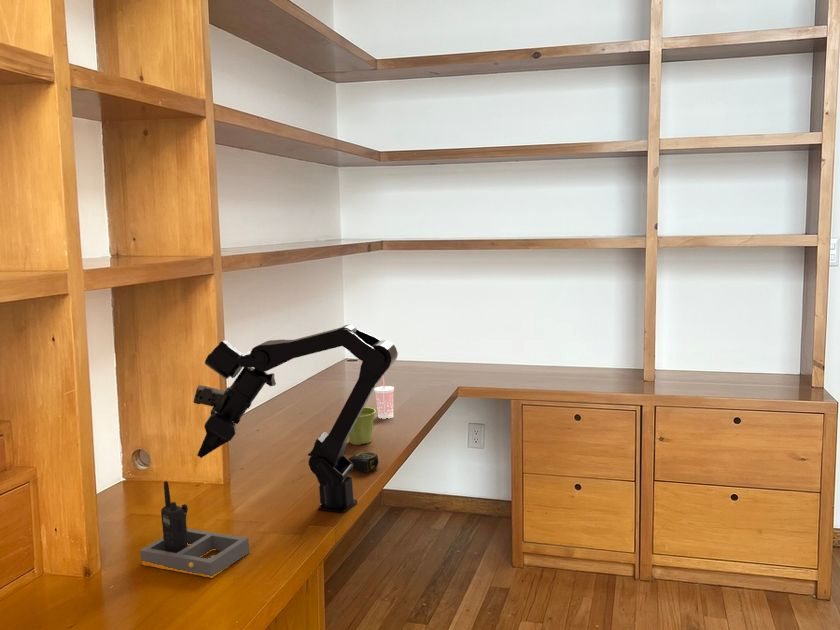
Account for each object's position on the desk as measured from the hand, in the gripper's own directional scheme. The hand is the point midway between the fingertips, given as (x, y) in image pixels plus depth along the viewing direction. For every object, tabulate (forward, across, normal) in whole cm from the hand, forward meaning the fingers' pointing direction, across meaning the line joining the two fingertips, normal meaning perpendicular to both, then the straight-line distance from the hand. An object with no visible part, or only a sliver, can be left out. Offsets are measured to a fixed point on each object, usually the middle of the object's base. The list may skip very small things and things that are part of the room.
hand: (201, 450), depth 169 cm
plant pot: (-13, -41, +37) cm, 57 cm away
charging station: (+11, +24, +9) cm, 28 cm away
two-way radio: (+13, +22, +7) cm, 26 cm away
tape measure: (-12, -17, +37) cm, 42 cm away
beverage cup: (-20, -64, +44) cm, 81 cm away
